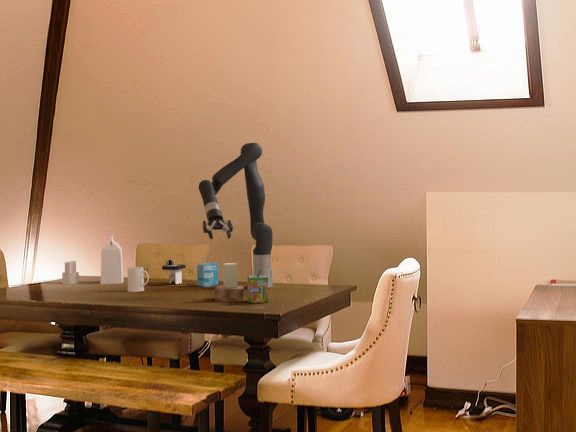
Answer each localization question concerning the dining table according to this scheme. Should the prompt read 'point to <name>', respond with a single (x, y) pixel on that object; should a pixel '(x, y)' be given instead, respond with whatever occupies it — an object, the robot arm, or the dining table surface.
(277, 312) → the dining table surface
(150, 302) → the dining table surface
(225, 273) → the tea tin
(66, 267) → the cylinder with rectangular tab
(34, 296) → the dining table surface
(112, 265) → the milk
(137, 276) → the mug
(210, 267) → the data package
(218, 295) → the walnut block
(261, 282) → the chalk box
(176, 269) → the black-topped pedestal
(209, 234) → the robot arm
